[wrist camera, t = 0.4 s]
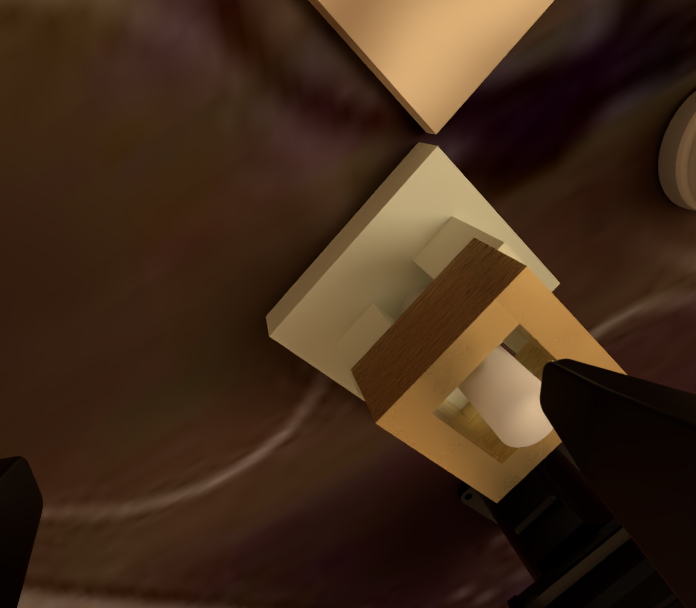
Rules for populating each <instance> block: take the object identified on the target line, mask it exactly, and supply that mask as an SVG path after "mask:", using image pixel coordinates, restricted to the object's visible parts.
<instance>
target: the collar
mask: <svg viewBox="0 0 696 608" xmlns="http://www.w3.org/2000/svg"><path fill="white" fill-rule="evenodd" d="M514 329H515V330H516V331H517V332H518V333H519V334H520V335H521V336H523V337H524V338H525V339H526V340H527V341H528V343H527V344H526V345H525V346H524V347H523V348H522V349H521V350H520V351H519V352H518V353H517V354H516V355H515V356H514V358H515V359H516V360H517V361H518V362H519V363H520V364H522V365H523V366H524V367H525V368H526V369H527V370H528V371H530V372H531V373H532V374H533V375H534V376H535V377H536V378H537V379H539V380H540V381H541V380H542V371H543V367H544V365H545V363H547V362H548V361H553V360H558V359H564V358H568V359H572V360H575V361H579V362H583V363H586V364H590V365H593V366H597V367H600V368H604V369H607V370H611V371H615V372H618V373H622V374H625V375H627V374H626V373H625V372H624V371H623V370H622V369H621V368H620V366H619V365H618V364H617V363H616V362H615V361H614V360H613V359H612V358H611V357H610V356H609V354H608V353H607V352H606V351H605V350H604V349H603V348H602V347H601V346H600V345H599V344H598V343H597V341H596V340H595V339H594V338H593V337H592V336H591V335H590V334H589V333H588V332H587V331H586V329H585V328H584V327H583V326H582V325H581V324H580V323H579V322H578V321H577V320H576V319H575V318H574V316H573V315H572V314H571V313H570V312H569V311H568V310H567V309H566V308H565V307H564V306H563V304H562V303H561V302H560V301H559V300H558V299H557V298H556V297H555V296H554V295H553V294H552V293H551V291H550V290H549V289H548V288H547V287H546V286H545V285H544V284H543V283H542V282H541V281H540V279H539V278H538V277H537V276H536V275H535V274H534V273H533V272H532V271H531V270H530V269H529V267H528V266H526V265H524V264H522V263H521V262H519V261H517V260H515V259H513V258H511V257H510V256H508V255H506V254H504V253H502V252H500V251H498V250H497V249H495V248H493V247H491V246H489V245H487V244H486V243H484V242H482V241H480V240H478V239H476V238H473V239H472V240H471V241H470V242H469V243H468V244H467V245H466V246H465V247H464V248H463V249H462V250H461V252H460V253H459V254H458V255H457V256H456V257H455V258H454V259H453V260H452V261H451V262H450V263H449V264H448V266H447V267H446V268H445V269H444V270H443V271H442V272H441V273H440V274H439V275H438V276H437V277H436V278H435V279H434V281H433V282H432V283H431V284H430V285H429V286H428V287H427V288H426V289H425V290H424V291H423V292H422V293H421V294H420V296H419V297H418V298H417V299H416V300H415V301H414V302H413V303H412V304H411V305H410V306H409V307H408V308H407V309H406V311H405V312H404V313H403V314H402V315H401V316H400V317H399V318H398V319H397V320H396V321H395V322H394V323H393V325H392V326H391V327H390V328H389V329H388V330H387V331H386V332H385V333H384V334H383V335H382V336H381V337H380V338H379V340H378V341H377V342H376V343H375V344H374V345H373V346H372V347H371V348H370V349H369V350H368V351H367V352H366V353H365V355H364V356H363V357H362V358H361V359H360V360H359V361H358V362H357V363H356V364H355V365H354V366H353V367H352V368H351V372H352V374H353V376H354V378H355V380H356V382H357V385H358V387H359V389H360V391H361V393H362V395H363V398H364V400H365V402H366V404H367V406H368V408H369V410H370V413H371V415H372V417H373V419H374V421H375V423H376V424H377V425H379V426H380V427H382V428H383V429H385V430H386V431H388V432H389V433H391V434H393V435H394V436H396V437H397V438H399V439H400V440H402V441H403V442H405V443H406V444H408V445H409V446H411V447H412V448H414V449H415V450H417V451H418V452H420V453H421V454H423V455H424V456H426V457H427V458H429V459H430V460H432V461H433V462H435V463H436V464H438V465H439V466H441V467H442V468H444V469H446V470H447V471H449V472H450V473H452V474H453V475H455V476H456V477H458V478H459V479H461V480H462V481H464V482H465V483H467V484H468V485H470V486H471V487H473V488H474V489H476V490H477V491H479V492H480V493H482V494H483V495H485V496H486V497H488V498H489V499H491V500H492V501H494V502H496V503H498V502H499V501H500V500H501V499H502V498H503V497H504V496H505V495H506V494H507V493H508V492H509V491H510V490H511V489H512V488H514V487H515V486H516V485H517V484H518V483H519V482H520V481H521V480H522V479H523V478H524V477H525V476H526V475H527V474H528V473H529V472H530V471H531V470H533V469H534V468H535V467H536V466H537V465H538V464H539V463H540V462H541V461H542V460H543V459H544V458H545V457H546V456H547V455H548V454H549V453H550V452H552V451H553V450H554V449H555V448H556V447H557V446H558V445H559V444H560V443H561V442H562V441H561V440H560V438H559V436H558V435H557V433H556V432H555V430H554V429H552V431H551V432H550V433H549V434H548V435H547V436H546V437H545V438H543V439H542V440H540V441H539V442H537V443H535V444H533V445H530V446H527V447H521V448H516V447H511V446H508V445H506V444H504V443H503V442H502V441H501V440H500V438H499V437H498V436H497V435H496V433H495V432H494V431H493V430H492V429H491V427H490V426H489V425H488V424H487V422H486V421H485V420H484V419H483V417H482V416H481V415H480V414H479V413H478V411H477V410H476V409H475V408H474V406H473V405H472V404H471V403H470V401H469V402H468V403H467V404H466V405H465V406H464V407H463V408H462V409H461V410H460V409H458V408H457V407H456V406H454V405H453V404H452V403H450V402H449V401H448V400H447V399H446V398H447V397H448V396H449V395H450V394H451V393H452V392H453V391H454V390H455V389H456V388H457V387H458V386H459V385H460V384H461V383H462V382H463V381H464V380H465V379H466V377H467V376H468V375H469V374H470V373H471V372H472V371H473V370H474V369H475V368H476V367H477V366H478V365H479V364H480V363H481V362H482V361H483V360H484V359H485V358H486V357H487V356H488V355H489V354H490V353H491V352H492V351H493V350H494V349H495V348H496V347H497V346H498V345H499V344H500V343H501V342H502V341H503V340H504V339H505V338H506V337H507V336H508V335H509V334H510V333H511V332H512V331H513V330H514Z"/></svg>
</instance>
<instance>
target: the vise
mask: <svg viewBox="0 0 696 608" xmlns="http://www.w3.org/2000/svg"><path fill="white" fill-rule="evenodd" d="M473 238H476V239H478V240H480V241H482V242H484V243H486V244H487V245H489V246H491V247H493V248H495V249H497V250H498V251H500V252H502V253H504V254H506V255H508V256H510V257H511V258H513V259H515V260H517V261H519V262H521V263H522V264H524V265H526V266H528V267H529V269H530V270H531V271H532V272H533V273H534V274H535V275H536V276H537V277H538V278H539V279H540V281H541V282H542V283H543V284H544V285H545V286H546V287H547V288H548V289H549V290H550V291H551V292H552V291H553V290H554V289H555V288H556V287H557V286H558V285H559V284H560V283H559V282H558V280H557V279H556V278H555V277H554V276H553V275H552V274H551V273H550V271H549V270H548V269H547V268H546V267H545V266H544V265H543V264H542V262H541V261H540V260H539V259H538V258H537V257H536V256H535V255H534V254H533V252H532V251H531V250H530V249H529V248H528V247H527V246H526V245H525V243H524V242H523V241H522V240H521V239H520V238H519V237H518V236H517V234H516V233H515V232H514V231H513V230H512V229H511V228H510V227H509V226H508V224H507V223H506V222H505V221H504V220H503V219H502V218H501V217H500V215H499V214H498V213H497V212H496V211H495V210H494V209H493V208H492V206H491V205H490V204H489V203H488V202H487V201H486V200H485V199H484V198H483V196H482V195H481V194H480V193H479V192H478V191H477V190H476V189H475V187H474V186H473V185H472V184H471V183H470V182H469V181H468V180H467V178H466V177H465V176H464V175H463V174H462V173H461V172H460V171H459V170H458V168H457V167H456V166H455V165H454V164H453V163H452V162H451V161H450V159H449V158H448V157H447V156H446V155H445V154H444V153H443V152H442V150H441V149H440V148H439V147H438V146H435V145H430V144H425V143H420V142H418V143H417V144H416V146H415V147H414V148H413V149H412V150H411V151H410V152H409V154H408V155H407V156H406V157H405V158H404V159H403V160H402V161H401V163H400V164H399V165H398V166H397V167H396V168H395V169H394V171H393V172H392V173H391V174H390V175H389V176H388V177H387V179H386V180H385V181H384V182H383V183H382V184H381V185H380V187H379V188H378V189H377V190H376V191H375V192H374V193H373V195H372V196H371V197H370V198H369V199H368V200H367V201H366V203H365V204H364V205H363V206H362V207H361V208H360V209H359V211H358V212H357V213H356V214H355V215H354V216H353V217H352V219H351V220H350V221H349V222H348V223H347V224H346V225H345V227H344V228H343V229H342V230H341V231H340V232H339V233H338V235H337V236H336V237H335V238H334V239H333V240H332V241H331V243H330V244H329V245H328V246H327V247H326V248H325V249H324V251H323V252H322V253H321V254H320V255H319V256H318V257H317V259H316V260H315V261H314V262H313V263H312V264H311V265H310V267H309V268H308V269H307V270H306V271H305V272H304V273H303V275H302V276H301V277H300V278H299V279H298V280H297V281H296V282H295V284H294V285H293V286H292V287H291V288H290V289H289V290H288V292H287V293H286V294H285V295H284V296H283V297H282V298H281V300H280V301H279V302H278V303H277V304H276V305H275V306H274V308H273V309H272V310H271V311H270V312H269V313H268V314H267V316H266V321H267V327H268V332H269V337H271V338H272V339H274V340H275V341H277V342H278V343H280V344H281V345H283V346H284V347H286V348H287V349H288V350H290V351H291V352H293V353H294V354H296V355H297V356H299V357H300V358H302V359H303V360H305V361H306V362H308V363H309V364H311V365H312V366H314V367H315V368H316V369H318V370H319V371H321V372H322V373H324V374H325V375H327V376H328V377H330V378H331V379H333V380H334V381H336V382H337V383H339V384H340V385H341V386H343V387H344V388H346V389H347V390H349V391H350V392H352V393H353V394H355V395H356V396H358V397H359V398H361V399H362V400H364V398H363V395H362V393H361V391H360V389H359V387H358V385H357V382H356V380H355V378H354V376H353V374H352V372H351V368H352V367H353V366H354V365H355V364H356V363H357V362H358V361H359V360H360V359H361V358H362V357H363V356H364V355H365V353H366V352H367V351H368V350H369V349H370V348H371V347H372V346H373V345H374V344H375V343H376V342H377V341H378V340H379V338H380V337H381V336H382V335H383V334H384V333H385V332H386V331H387V330H388V329H389V328H390V327H391V326H392V325H393V323H394V322H395V321H396V320H397V319H398V318H399V317H400V316H401V315H402V314H403V313H404V312H405V311H406V309H407V308H408V307H409V306H410V305H411V304H412V303H413V302H414V301H415V300H416V299H417V298H418V297H419V296H420V294H421V293H422V292H423V291H424V290H425V289H426V288H427V287H428V286H429V285H430V284H431V283H432V282H433V281H434V279H435V278H436V277H437V276H438V275H439V274H440V273H441V272H442V271H443V270H444V269H445V268H446V267H447V266H448V264H449V263H450V262H451V261H452V260H453V259H454V258H455V257H456V256H457V255H458V254H459V253H460V252H461V250H462V249H463V248H464V247H465V246H466V245H467V244H468V243H469V242H470V241H471V240H472V239H473ZM502 342H504V343H505V344H506V345H507V346H508V347H509V348H510V349H512V350H513V351H514V352H515V353H516V354H517V353H518V352H519V351H520V350H521V349H522V348H523V347H524V346H525V345H526V344H527V343H528V341H527V340H526V339H525V338H524V337H523V336H521V335H520V334H519V333H518V332H517V331H516V330H515V329H514V330H513V331H512V332H511V333H510V334H509V335H508V336H507V337H506V338H505V339H504V340H503V341H502ZM502 342H501V343H502ZM501 343H500V344H501ZM500 344H499V345H498V346H497V347H496V348H495V349H494V350H493V351H492V352H491V353H490V354H489V355H488V356H487V357H486V358H485V359H484V360H483V361H482V362H481V363H480V364H479V365H478V366H477V367H476V368H475V369H474V370H473V371H472V372H471V373H470V374H469V375H468V376H467V377H466V379H465V380H464V381H463V382H462V383H461V384H460V385H459V386H458V387H457V388H456V389H455V390H454V391H453V392H452V393H451V394H450V395H449V396H448V397H447V398H446V399H447V400H448V401H449V402H450V403H452V404H453V405H454V406H456V407H457V408H458V409H460V410H461V409H462V408H463V407H464V406H465V405H466V404H467V403H468V402H469V401H470V403H471V404H472V405H473V406H474V408H475V409H476V410H477V411H478V413H479V414H480V415H481V416H482V417H483V419H484V420H485V421H486V422H487V424H488V425H489V426H490V427H491V429H492V430H493V431H494V432H495V433H496V435H497V436H498V437H499V438H500V440H501V441H502V442H503V443H504V444H506V445H508V446H511V447H516V448H521V447H527V446H530V445H533V444H535V443H537V442H539V441H540V440H542V439H543V438H545V437H546V436H547V435H548V434H549V433H550V432H551V431H552V429H553V427H552V425H551V424H550V422H549V421H548V419H547V417H546V416H545V414H544V413H543V411H542V408H541V405H540V389H541V381H540V380H539V379H537V378H536V377H535V376H534V375H533V374H532V373H531V372H530V371H528V370H527V369H526V368H525V367H524V366H523V365H522V364H520V363H519V362H518V361H517V360H516V359H515V358H514V357H513V356H511V355H510V354H509V353H508V352H507V351H506V350H505V349H504V348H502V347H501V346H500ZM364 401H365V400H364Z"/></svg>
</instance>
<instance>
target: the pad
mask: <svg viewBox="0 0 696 608" xmlns="http://www.w3.org/2000/svg"><path fill="white" fill-rule="evenodd" d="M553 1H554V0H309V2H310V3H311V4H312V5H313V6H314V7H315V8H316V9H317V11H318V12H319V13H320V14H321V15H322V16H323V17H324V18H325V20H326V21H327V22H328V23H329V24H330V25H331V26H332V27H333V28H334V30H335V31H336V32H337V33H338V34H339V35H340V36H341V37H342V39H343V40H344V41H345V42H346V43H347V44H348V45H349V46H350V48H351V49H352V50H353V51H354V52H355V53H356V54H357V55H358V57H359V58H360V59H361V60H362V61H363V62H364V63H365V64H366V65H367V67H368V68H369V69H370V70H371V71H372V72H373V73H374V74H375V76H376V77H377V78H378V79H379V80H380V81H381V82H382V83H383V85H384V86H385V87H386V88H387V89H388V90H389V91H390V92H391V94H392V95H393V96H394V97H395V98H396V99H397V100H398V101H399V102H400V104H401V105H402V106H403V107H404V108H405V109H406V110H407V111H408V113H409V114H410V115H411V116H412V117H413V118H414V119H415V120H416V122H417V123H418V124H419V125H420V126H421V127H422V128H423V129H424V131H425V132H426V133H431V134H437V133H438V132H439V131H440V129H441V128H442V127H443V126H444V125H445V124H446V123H447V121H448V120H449V119H450V118H451V117H452V116H453V115H454V113H455V112H456V111H457V110H458V109H459V108H460V107H461V106H462V104H463V103H464V102H465V101H466V100H467V99H468V98H469V96H470V95H471V94H472V93H473V92H474V91H475V90H476V88H477V87H478V86H479V85H480V84H481V83H482V82H483V81H484V79H485V78H486V77H487V76H488V75H489V74H490V73H491V71H492V70H493V69H494V68H495V67H496V66H497V65H498V63H499V62H500V61H501V60H502V59H503V58H504V57H505V56H506V54H507V53H508V52H509V51H510V50H511V49H512V48H513V46H514V45H515V44H516V43H517V42H518V41H519V40H520V38H521V37H522V36H523V35H524V34H525V33H526V32H527V31H528V29H529V28H530V27H531V26H532V25H533V24H534V23H535V21H536V20H537V19H538V18H539V17H540V16H541V15H542V13H543V12H544V11H545V10H546V9H547V8H548V7H549V6H550V4H551V3H552V2H553Z"/></svg>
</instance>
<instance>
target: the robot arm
mask: <svg viewBox="0 0 696 608" xmlns="http://www.w3.org/2000/svg"><path fill="white" fill-rule="evenodd" d="M540 405H541V408H542V411H543V413H544V414H545V416H546V417H547V419H548V421H549V422H550V424H551V425H552V427H553V429H554V430H555V432H556V433H557V435H558V436H559V438H560V440H561V441H562V443H563V444H562V443H560V444H559V445H558V446H557V447H556V448H555V449H554V450H553V451H552V452H550V453H549V454H548V455H547V456H546V457H545V458H544V459H543V460H542V461H541V462H540V463H539V464H538V465H537V466H536V467H535V468H534V469H533V470H531V471H530V472H529V473H528V474H527V475H526V476H525V477H524V478H523V479H522V480H521V481H520V482H519V483H518V484H517V485H516V486H515V487H514V488H512V489H511V490H510V491H509V492H508V493H507V494H506V495H505V496H504V497H503V498H502V499H501V500H500V501H499V502H498V503H496V502H494V501H492V500H491V499H489V498H488V497H486V496H485V495H483V494H482V493H480V492H479V491H477V490H476V489H474V488H473V487H471V486H470V485H468V484H467V483H466V484H465V485H464V486H463V487H462V488H460V490H459V491H458V496H459V498H460V500H461V501H462V502H463V503H464V504H466V505H468V506H469V507H471V508H472V509H474V510H476V511H477V512H479V513H480V514H482V515H484V516H485V517H487V518H488V519H490V520H492V521H493V522H495V523H496V524H498V525H499V527H500V528H501V530H502V531H503V533H504V535H505V536H506V538H507V539H508V541H509V542H510V544H511V545H512V547H513V548H514V550H515V552H516V553H517V555H518V556H519V558H520V559H521V561H522V562H523V564H524V566H525V567H526V569H527V570H528V572H529V573H530V575H531V576H532V578H533V580H534V581H535V582H534V583H533V584H531V585H530V586H529V587H528V588H526V589H525V590H524V591H523V592H522V593H520V594H519V595H518V596H516V595H515V596H513V597H512V598H511V599H510V600H508V601H507V603H508V605H509V608H696V394H693V393H689V392H686V391H682V390H679V389H675V388H672V387H668V386H664V385H661V384H657V383H654V382H650V381H647V380H643V379H639V378H636V377H632V376H629V375H625V374H622V373H618V372H615V371H611V370H607V369H604V368H600V367H597V366H593V365H590V364H586V363H583V362H579V361H575V360H572V359H568V358H564V359H558V360H553V361H548V362H547V363H545V365H544V367H543V371H542V380H541V389H540ZM42 509H43V499H42V495H41V492H40V490H39V487H38V485H37V482H36V480H35V477H34V475H33V473H32V470H31V468H30V465H29V463H28V462H27V460H26V459H25V458H23V457H21V456H15V457H9V458H4V459H0V608H17V605H18V602H19V598H20V595H21V591H22V588H23V584H24V580H25V576H26V572H27V568H28V564H29V560H30V557H31V553H32V549H33V545H34V541H35V537H36V533H37V529H38V526H39V522H40V518H41V514H42Z"/></svg>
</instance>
